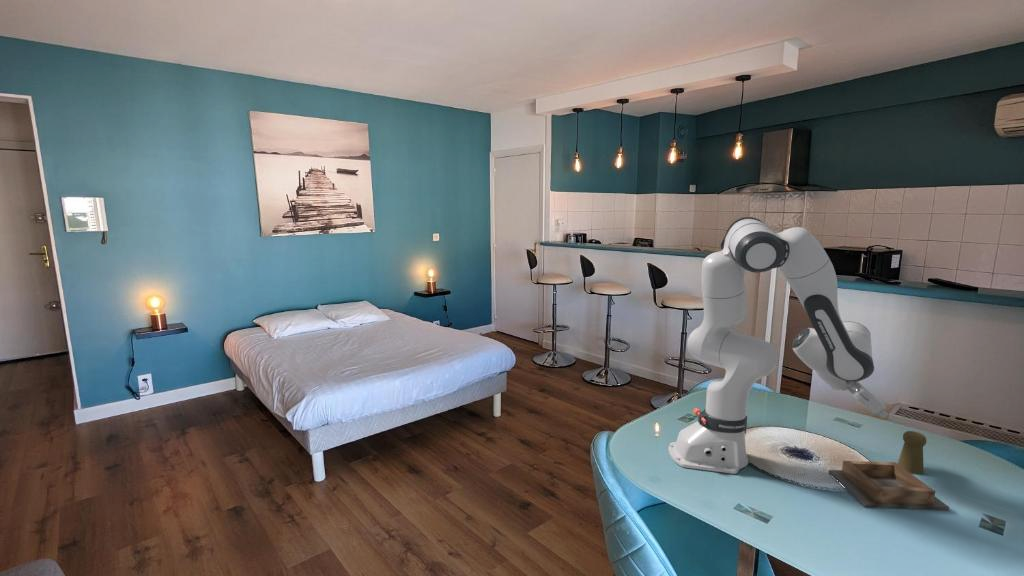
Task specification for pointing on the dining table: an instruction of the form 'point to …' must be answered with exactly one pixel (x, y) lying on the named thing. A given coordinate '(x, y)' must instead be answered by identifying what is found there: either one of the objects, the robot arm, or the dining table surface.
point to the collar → (886, 486)
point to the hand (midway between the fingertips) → (876, 407)
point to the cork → (912, 452)
